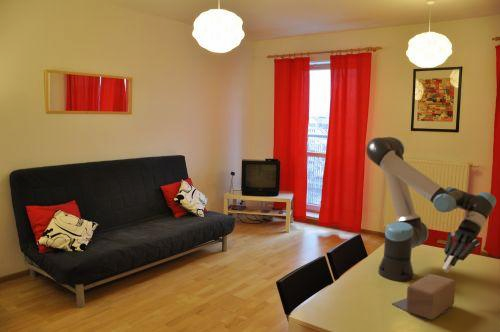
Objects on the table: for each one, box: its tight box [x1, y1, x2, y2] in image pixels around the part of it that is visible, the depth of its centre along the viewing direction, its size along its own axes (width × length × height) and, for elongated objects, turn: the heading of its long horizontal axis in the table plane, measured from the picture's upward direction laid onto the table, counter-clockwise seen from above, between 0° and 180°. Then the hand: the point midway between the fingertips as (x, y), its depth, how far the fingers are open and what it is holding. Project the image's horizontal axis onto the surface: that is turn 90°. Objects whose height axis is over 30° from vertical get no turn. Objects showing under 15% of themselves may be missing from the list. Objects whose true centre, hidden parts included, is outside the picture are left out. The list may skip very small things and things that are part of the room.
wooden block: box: [406, 273, 456, 320], centre depth 151 cm, size 10×10×20 cm
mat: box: [391, 297, 454, 322], centre depth 154 cm, size 18×14×1 cm
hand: (444, 270), depth 159 cm, fingers closed
